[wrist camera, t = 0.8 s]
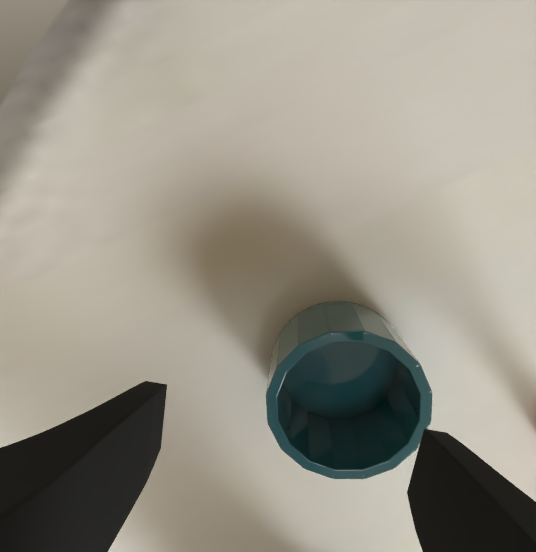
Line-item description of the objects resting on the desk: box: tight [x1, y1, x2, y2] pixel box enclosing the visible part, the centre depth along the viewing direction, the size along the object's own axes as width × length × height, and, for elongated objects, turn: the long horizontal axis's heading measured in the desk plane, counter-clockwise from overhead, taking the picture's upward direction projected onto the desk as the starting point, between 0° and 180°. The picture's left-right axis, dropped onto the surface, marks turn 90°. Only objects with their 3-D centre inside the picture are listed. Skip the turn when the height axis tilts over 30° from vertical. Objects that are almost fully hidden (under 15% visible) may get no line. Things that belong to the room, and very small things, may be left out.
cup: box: [266, 301, 432, 479], centre depth 19 cm, size 7×7×4 cm
